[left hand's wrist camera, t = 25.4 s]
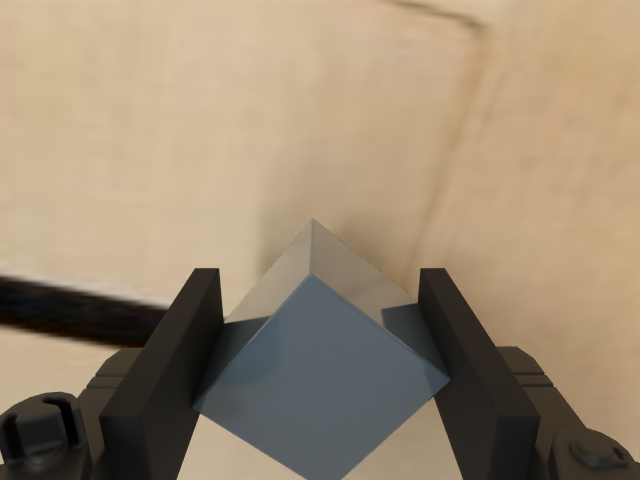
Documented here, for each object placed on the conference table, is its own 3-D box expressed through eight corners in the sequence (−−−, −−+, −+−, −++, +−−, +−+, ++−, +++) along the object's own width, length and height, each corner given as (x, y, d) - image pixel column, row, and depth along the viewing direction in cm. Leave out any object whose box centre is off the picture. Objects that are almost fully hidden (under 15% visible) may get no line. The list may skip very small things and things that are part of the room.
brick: (416, 299, 15) (453, 380, 11) (325, 390, 16) (327, 494, 12) (312, 217, 14) (310, 273, 10) (224, 321, 15) (189, 408, 11)
